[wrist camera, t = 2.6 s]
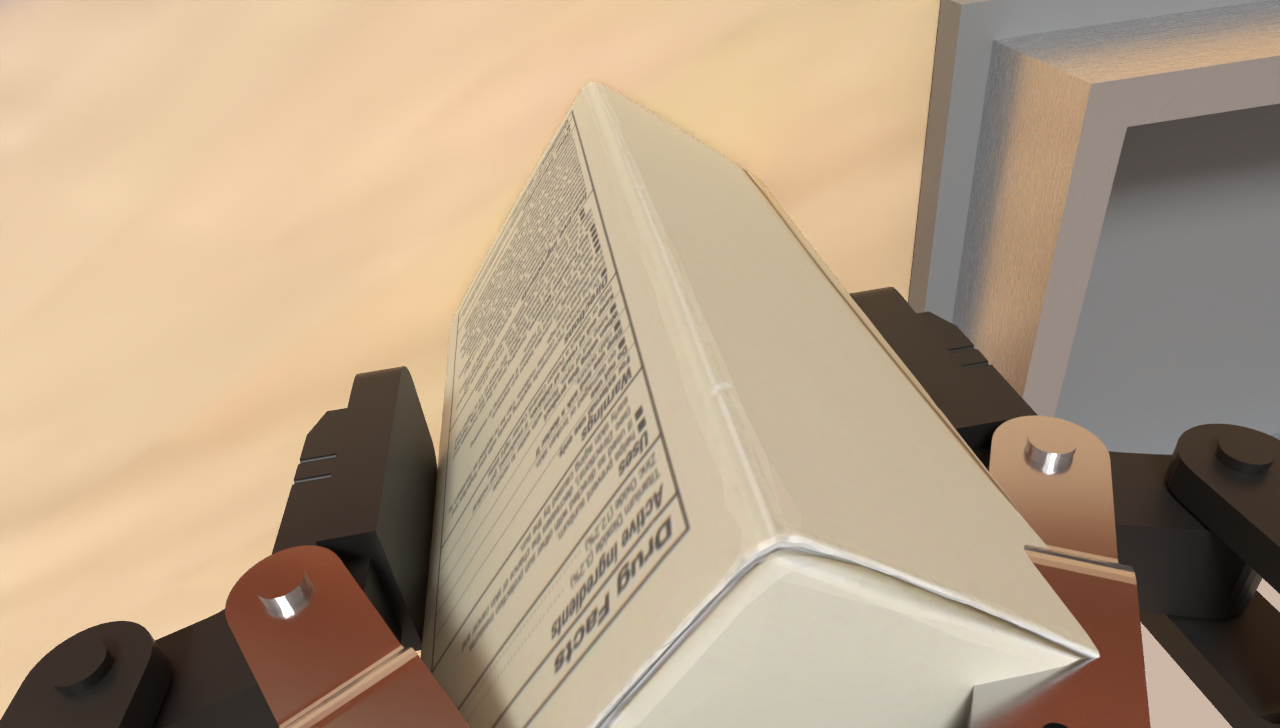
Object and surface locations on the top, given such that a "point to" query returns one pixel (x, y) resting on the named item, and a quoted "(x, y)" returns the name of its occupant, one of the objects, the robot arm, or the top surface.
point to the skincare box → (704, 472)
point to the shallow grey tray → (1082, 164)
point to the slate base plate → (1131, 242)
